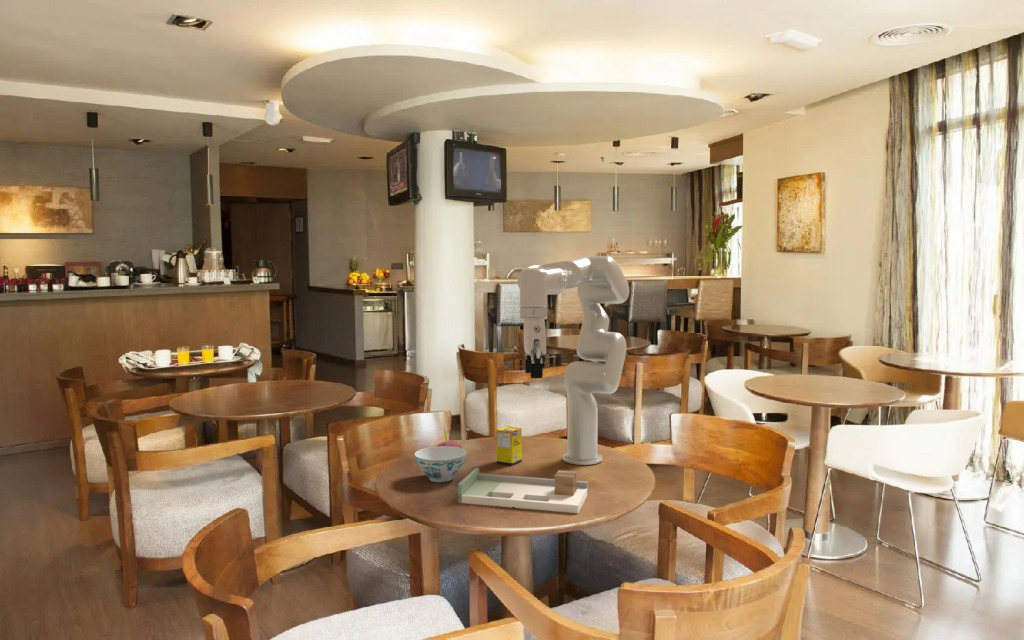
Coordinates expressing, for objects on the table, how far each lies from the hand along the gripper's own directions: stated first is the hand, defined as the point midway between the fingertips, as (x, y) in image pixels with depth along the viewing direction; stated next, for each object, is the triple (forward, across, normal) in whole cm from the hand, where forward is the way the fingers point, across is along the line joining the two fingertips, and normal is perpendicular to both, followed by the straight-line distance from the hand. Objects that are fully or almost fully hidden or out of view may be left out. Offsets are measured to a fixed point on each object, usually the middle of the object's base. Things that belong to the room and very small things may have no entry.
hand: (533, 375), depth 194 cm
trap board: (+32, -8, +4) cm, 33 cm away
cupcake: (+32, +28, +22) cm, 48 cm away
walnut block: (+30, -10, -7) cm, 32 cm away
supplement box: (+32, +27, +3) cm, 42 cm away
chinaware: (+32, +13, +25) cm, 43 cm away
